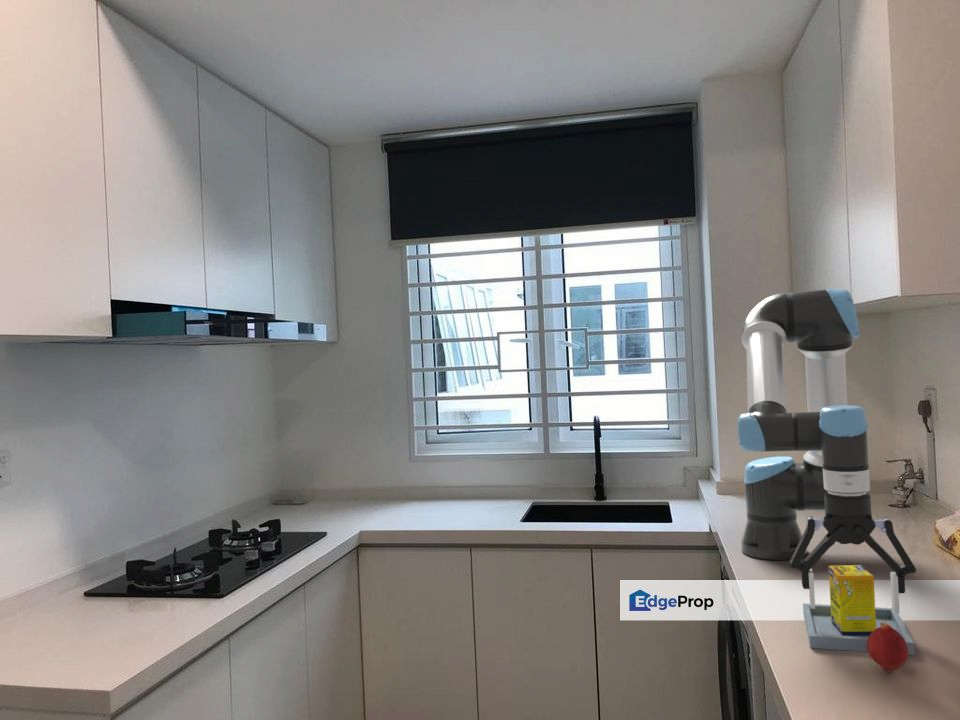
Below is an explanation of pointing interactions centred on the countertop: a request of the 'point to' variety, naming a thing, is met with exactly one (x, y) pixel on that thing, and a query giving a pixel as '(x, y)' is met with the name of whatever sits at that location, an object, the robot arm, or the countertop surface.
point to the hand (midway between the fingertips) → (853, 608)
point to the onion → (887, 647)
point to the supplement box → (852, 600)
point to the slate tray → (831, 638)
